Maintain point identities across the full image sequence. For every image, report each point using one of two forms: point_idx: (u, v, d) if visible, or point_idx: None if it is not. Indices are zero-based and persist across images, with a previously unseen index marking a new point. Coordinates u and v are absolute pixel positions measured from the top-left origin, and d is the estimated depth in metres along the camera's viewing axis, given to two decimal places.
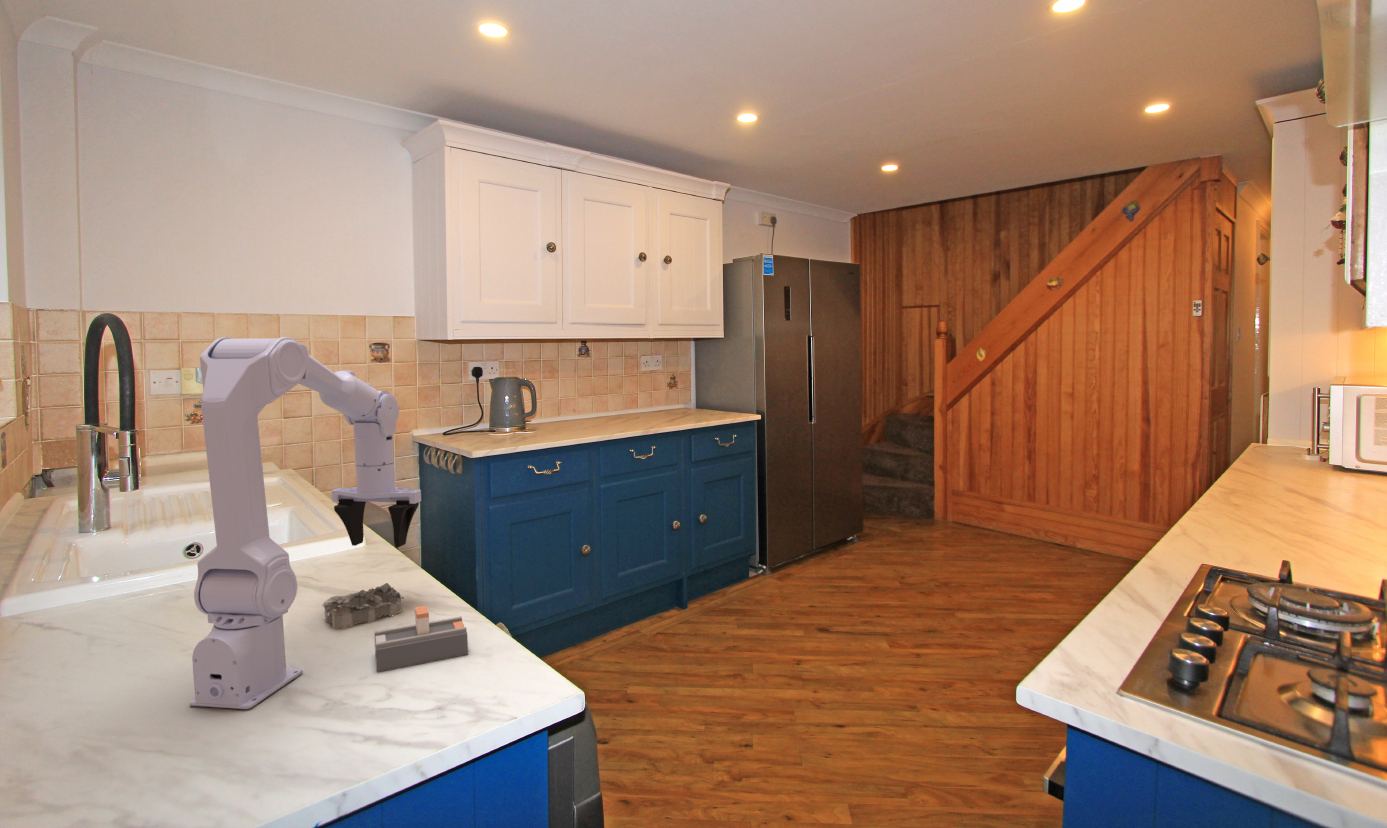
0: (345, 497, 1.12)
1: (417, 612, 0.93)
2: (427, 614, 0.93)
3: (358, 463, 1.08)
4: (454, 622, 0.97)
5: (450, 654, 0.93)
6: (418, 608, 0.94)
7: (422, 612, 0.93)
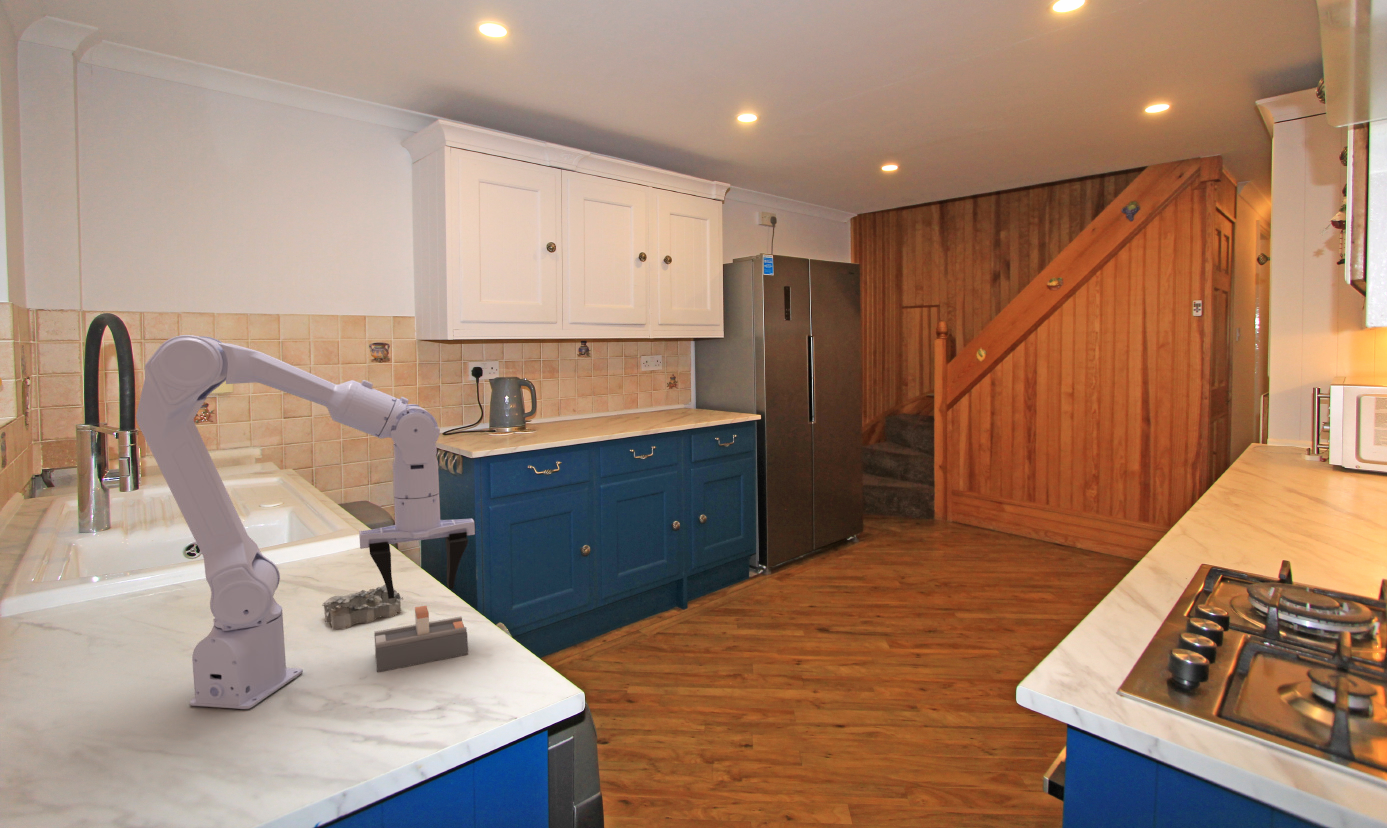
0: None
1: (417, 612, 0.93)
2: (427, 614, 0.93)
3: None
4: (454, 622, 0.97)
5: (450, 654, 0.93)
6: (418, 608, 0.94)
7: (422, 612, 0.93)
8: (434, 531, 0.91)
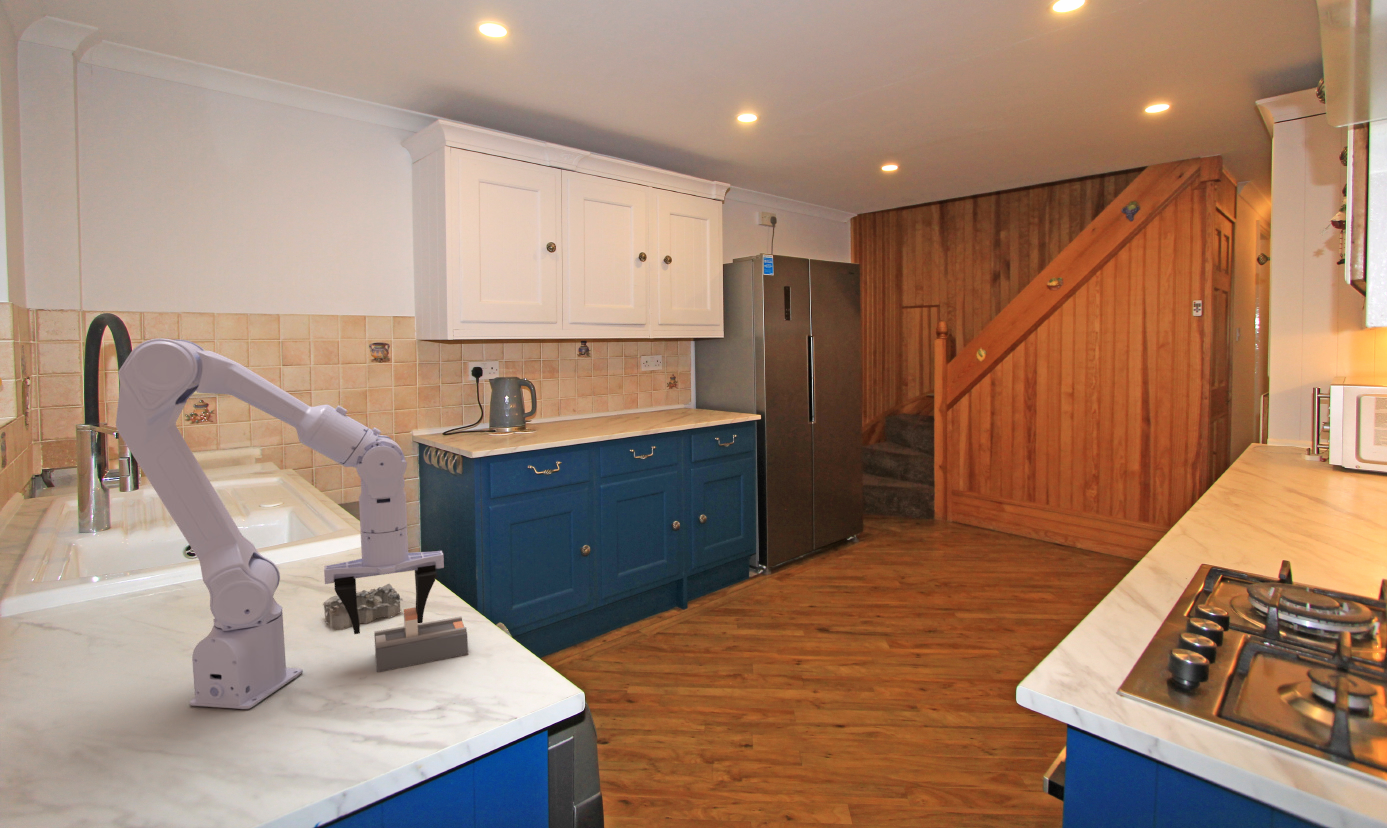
0: (428, 563, 0.94)
1: (405, 614, 0.92)
2: (416, 616, 0.92)
3: None
4: (454, 622, 0.97)
5: (450, 654, 0.93)
6: (407, 610, 0.94)
7: (410, 613, 0.92)
8: (401, 565, 0.90)
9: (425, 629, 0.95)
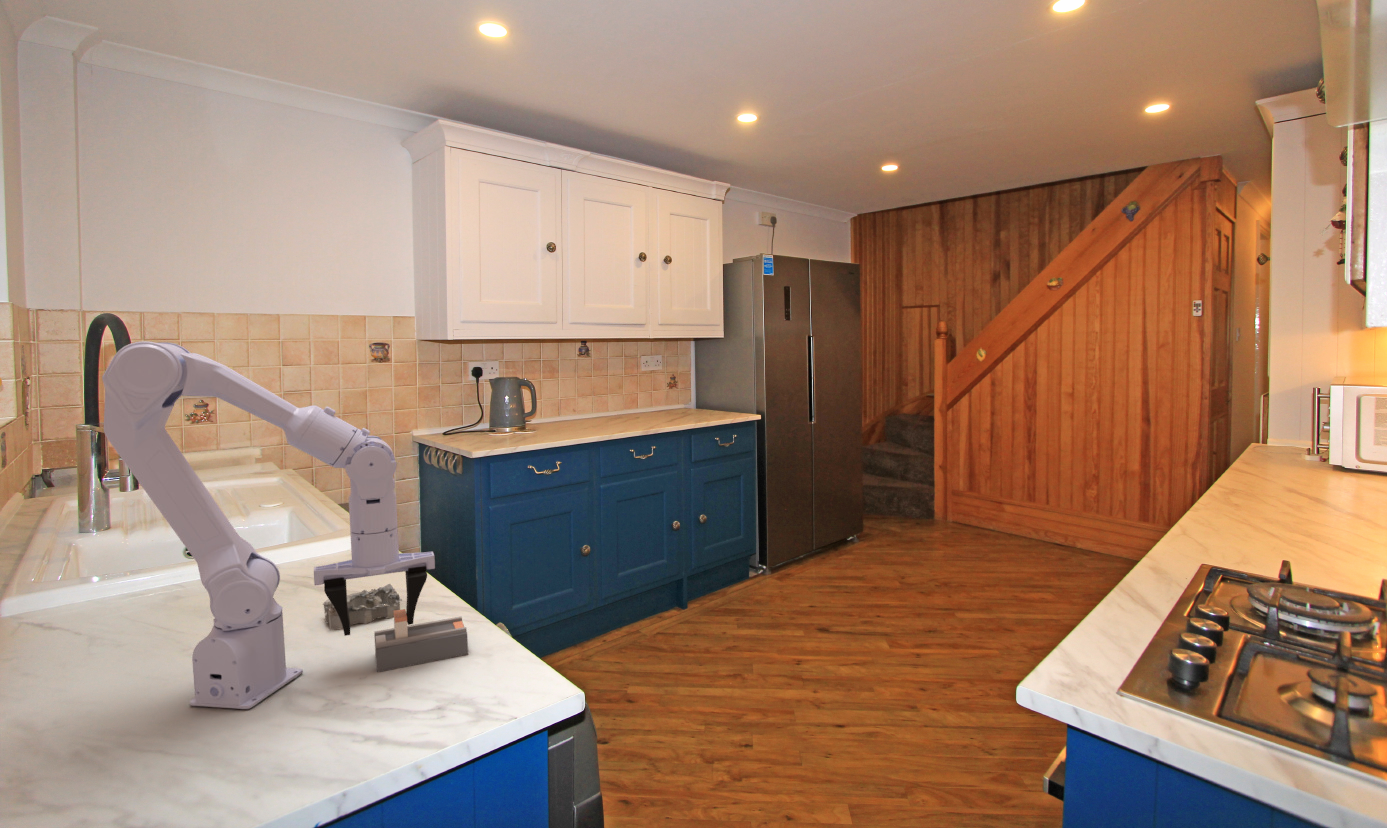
0: (418, 563, 0.93)
1: (395, 616, 0.92)
2: (405, 618, 0.92)
3: None
4: (454, 622, 0.97)
5: (450, 654, 0.93)
6: (397, 612, 0.93)
7: (400, 615, 0.92)
8: (391, 566, 0.89)
9: (425, 629, 0.95)
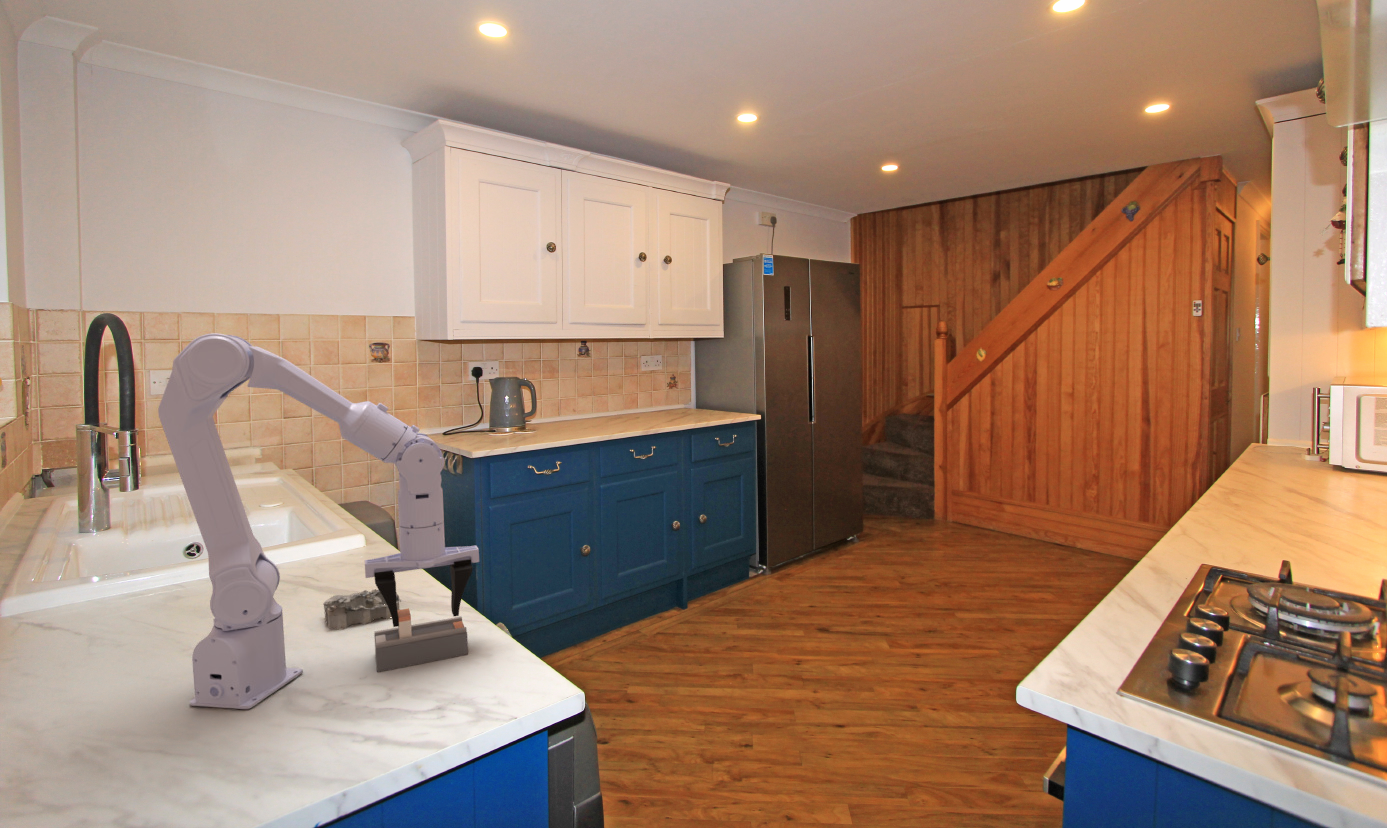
0: (463, 557, 0.96)
1: (399, 615, 0.92)
2: (409, 617, 0.92)
3: None
4: (454, 622, 0.97)
5: (450, 654, 0.93)
6: (400, 611, 0.93)
7: (404, 615, 0.92)
8: (439, 560, 0.92)
9: (425, 629, 0.95)
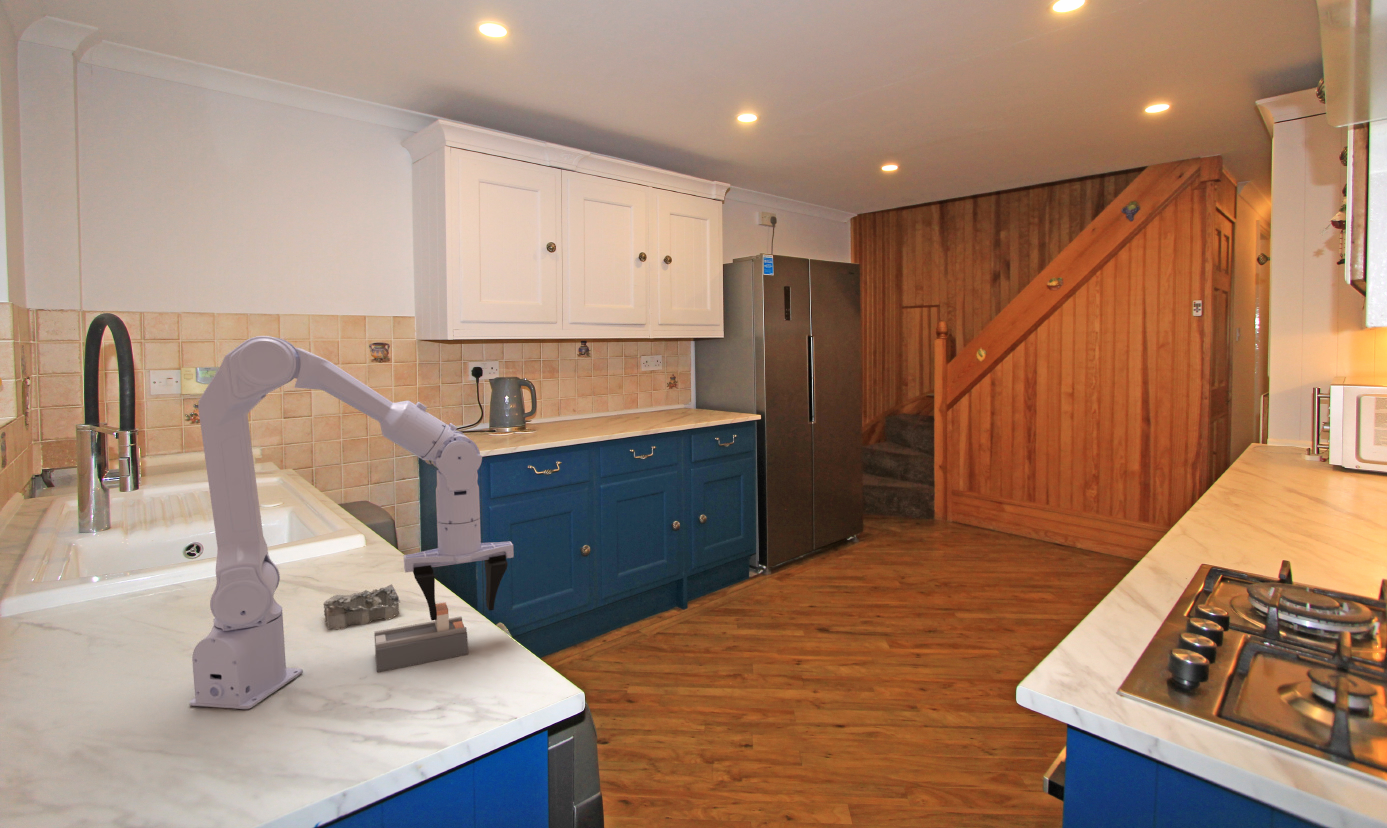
0: (498, 552, 0.98)
1: (437, 609, 0.94)
2: (447, 611, 0.94)
3: None
4: (454, 622, 0.97)
5: (450, 654, 0.93)
6: (438, 605, 0.96)
7: (442, 608, 0.94)
8: (476, 555, 0.94)
9: (425, 629, 0.95)
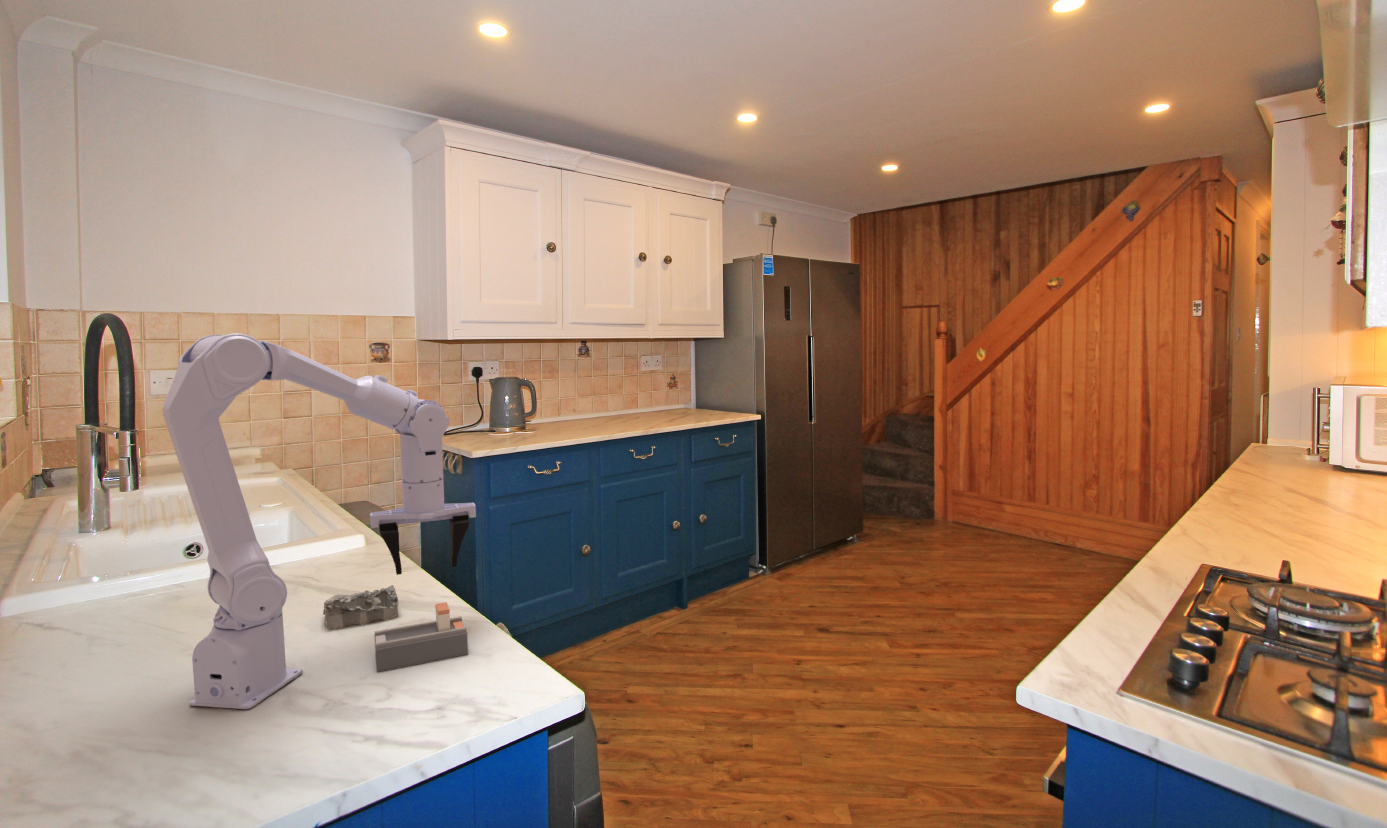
0: None
1: (438, 609, 0.94)
2: (448, 610, 0.94)
3: (402, 478, 0.99)
4: (454, 622, 0.97)
5: (450, 654, 0.93)
6: (439, 605, 0.96)
7: (443, 608, 0.94)
8: (438, 513, 1.00)
9: (425, 629, 0.95)
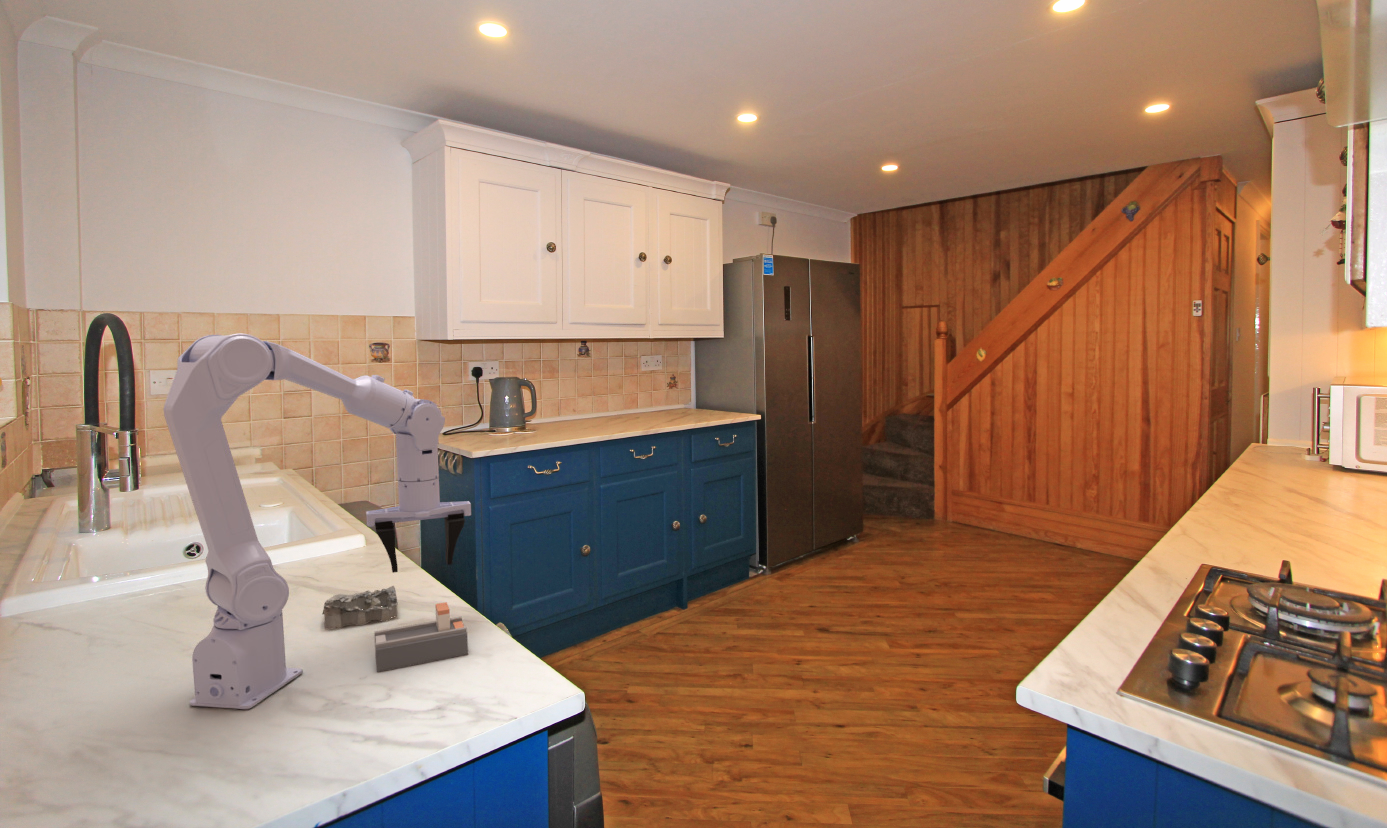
0: None
1: (438, 609, 0.94)
2: (448, 610, 0.94)
3: None
4: (454, 622, 0.97)
5: (450, 654, 0.93)
6: (439, 605, 0.96)
7: (443, 608, 0.94)
8: (434, 511, 1.01)
9: (425, 629, 0.95)
